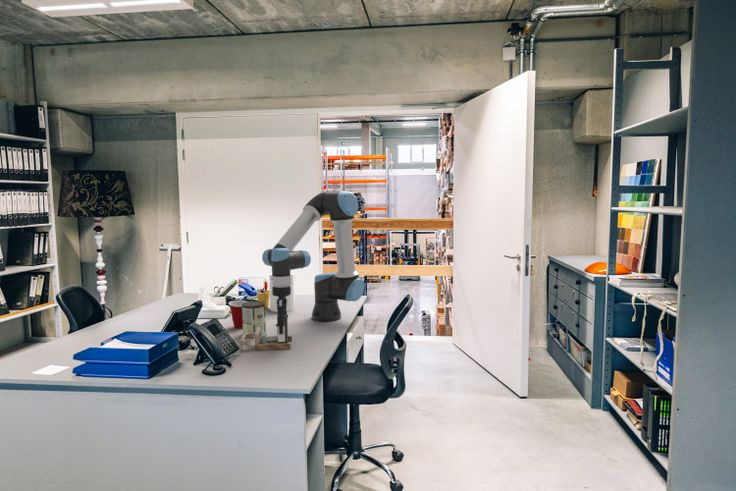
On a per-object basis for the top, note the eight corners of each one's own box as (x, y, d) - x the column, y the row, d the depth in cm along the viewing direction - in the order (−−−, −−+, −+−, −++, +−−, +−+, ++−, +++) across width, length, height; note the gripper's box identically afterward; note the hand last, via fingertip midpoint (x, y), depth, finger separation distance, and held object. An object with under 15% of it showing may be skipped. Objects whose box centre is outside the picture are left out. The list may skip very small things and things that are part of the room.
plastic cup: (246, 330, 220) (245, 305, 219) (224, 329, 222) (224, 304, 221) (256, 324, 231) (255, 300, 230) (235, 323, 233) (235, 299, 232)
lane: (292, 340, 205) (291, 325, 204) (290, 348, 193) (290, 333, 192) (244, 341, 203) (244, 326, 202) (240, 350, 191) (239, 334, 190)
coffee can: (250, 330, 221) (250, 300, 220) (270, 332, 218) (269, 301, 217) (238, 336, 211) (237, 305, 210) (258, 338, 208) (257, 306, 207)
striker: (288, 342, 201) (287, 314, 200) (287, 345, 196) (286, 316, 195) (263, 343, 200) (262, 315, 198) (262, 346, 195) (261, 317, 194)
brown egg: (257, 333, 199) (251, 340, 199) (255, 335, 195) (250, 343, 195) (264, 338, 199) (259, 346, 199) (263, 341, 195) (258, 348, 195)
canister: (282, 305, 274) (282, 271, 272) (299, 308, 266) (299, 273, 264) (265, 309, 263) (264, 274, 261) (282, 313, 255) (281, 276, 253)
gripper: (274, 281, 207) (276, 329, 209) (269, 291, 184) (270, 346, 186) (292, 280, 208) (293, 329, 210) (288, 290, 185) (290, 345, 187)
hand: (282, 337), depth 198 cm, fingers open, 11 cm apart
